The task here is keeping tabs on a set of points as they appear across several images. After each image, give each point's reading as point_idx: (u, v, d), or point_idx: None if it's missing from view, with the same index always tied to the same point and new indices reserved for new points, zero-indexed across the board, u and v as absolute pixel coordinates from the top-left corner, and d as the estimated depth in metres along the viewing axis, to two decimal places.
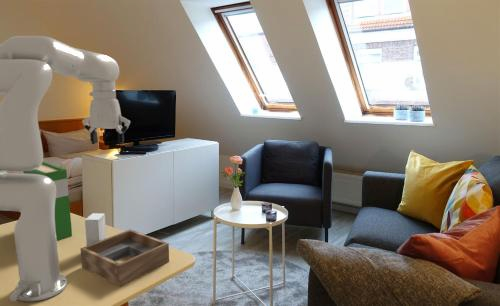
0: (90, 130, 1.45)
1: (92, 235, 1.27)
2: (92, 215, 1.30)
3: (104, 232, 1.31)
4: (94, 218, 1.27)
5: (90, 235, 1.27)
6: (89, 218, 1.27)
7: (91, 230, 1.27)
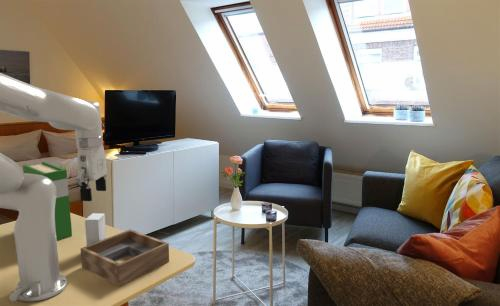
0: (88, 186, 1.22)
1: (92, 235, 1.27)
2: (92, 215, 1.30)
3: (104, 232, 1.31)
4: (94, 218, 1.27)
5: (90, 235, 1.27)
6: (89, 218, 1.27)
7: (91, 230, 1.27)
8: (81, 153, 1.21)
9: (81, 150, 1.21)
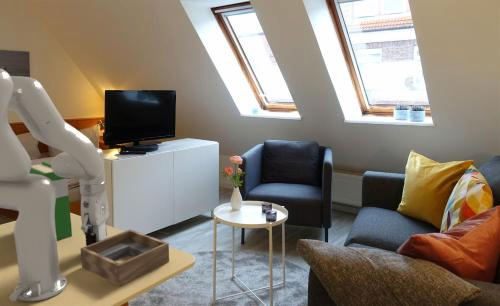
0: (93, 232, 1.26)
1: None
2: None
3: (104, 232, 1.31)
4: None
5: None
6: None
7: None
8: (84, 199, 1.23)
9: (84, 196, 1.23)
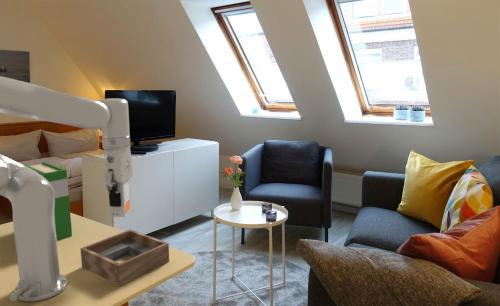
0: (118, 190, 1.15)
1: None
2: None
3: (127, 193, 1.21)
4: None
5: None
6: None
7: None
8: (108, 154, 1.12)
9: (108, 151, 1.13)
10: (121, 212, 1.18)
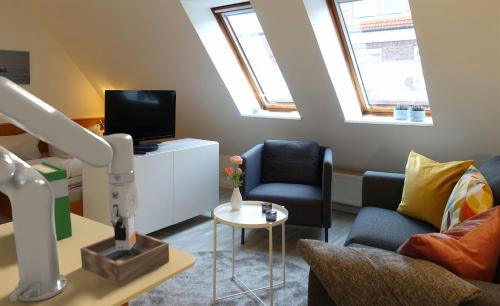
0: (123, 225, 1.16)
1: None
2: None
3: (133, 225, 1.22)
4: None
5: None
6: None
7: None
8: (113, 190, 1.14)
9: (113, 186, 1.14)
10: (126, 245, 1.19)
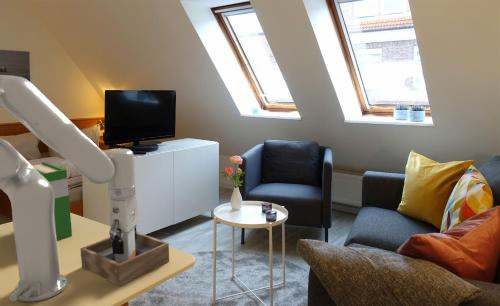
0: (121, 238, 1.16)
1: None
2: None
3: (133, 244, 1.23)
4: None
5: None
6: (118, 229, 1.19)
7: None
8: (114, 204, 1.15)
9: (114, 201, 1.15)
10: None
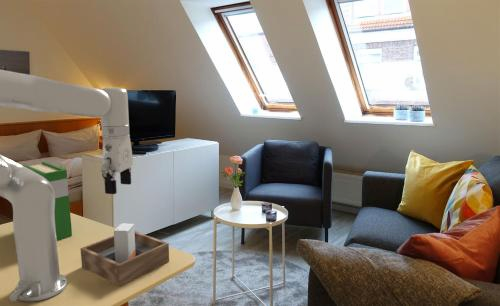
0: (113, 177, 1.14)
1: (121, 247, 1.19)
2: (121, 225, 1.22)
3: (133, 244, 1.23)
4: (123, 229, 1.19)
5: (119, 247, 1.19)
6: (118, 229, 1.19)
7: (120, 242, 1.19)
8: (106, 142, 1.13)
9: (107, 139, 1.13)
10: None
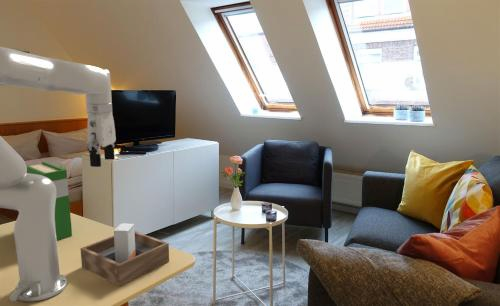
0: (98, 151, 1.24)
1: (121, 247, 1.19)
2: (121, 225, 1.22)
3: (133, 244, 1.23)
4: (123, 229, 1.19)
5: (119, 247, 1.19)
6: (118, 229, 1.19)
7: (120, 242, 1.19)
8: (91, 119, 1.23)
9: (91, 116, 1.23)
10: None
